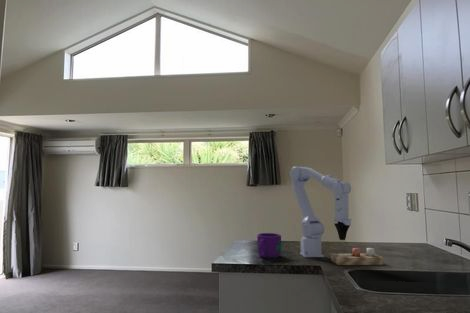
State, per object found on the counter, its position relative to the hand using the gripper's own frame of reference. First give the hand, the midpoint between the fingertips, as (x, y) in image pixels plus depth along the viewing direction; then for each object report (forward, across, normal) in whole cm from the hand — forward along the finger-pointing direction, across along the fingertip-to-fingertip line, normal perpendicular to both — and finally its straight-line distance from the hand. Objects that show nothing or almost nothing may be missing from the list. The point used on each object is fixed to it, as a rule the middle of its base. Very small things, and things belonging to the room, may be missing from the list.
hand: (342, 239), depth 146 cm
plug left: (+10, 0, 0) cm, 10 cm away
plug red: (+7, 0, -6) cm, 9 cm away
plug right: (+7, 0, -13) cm, 15 cm away
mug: (+10, +12, +32) cm, 35 cm away
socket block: (+10, 0, -6) cm, 12 cm away
